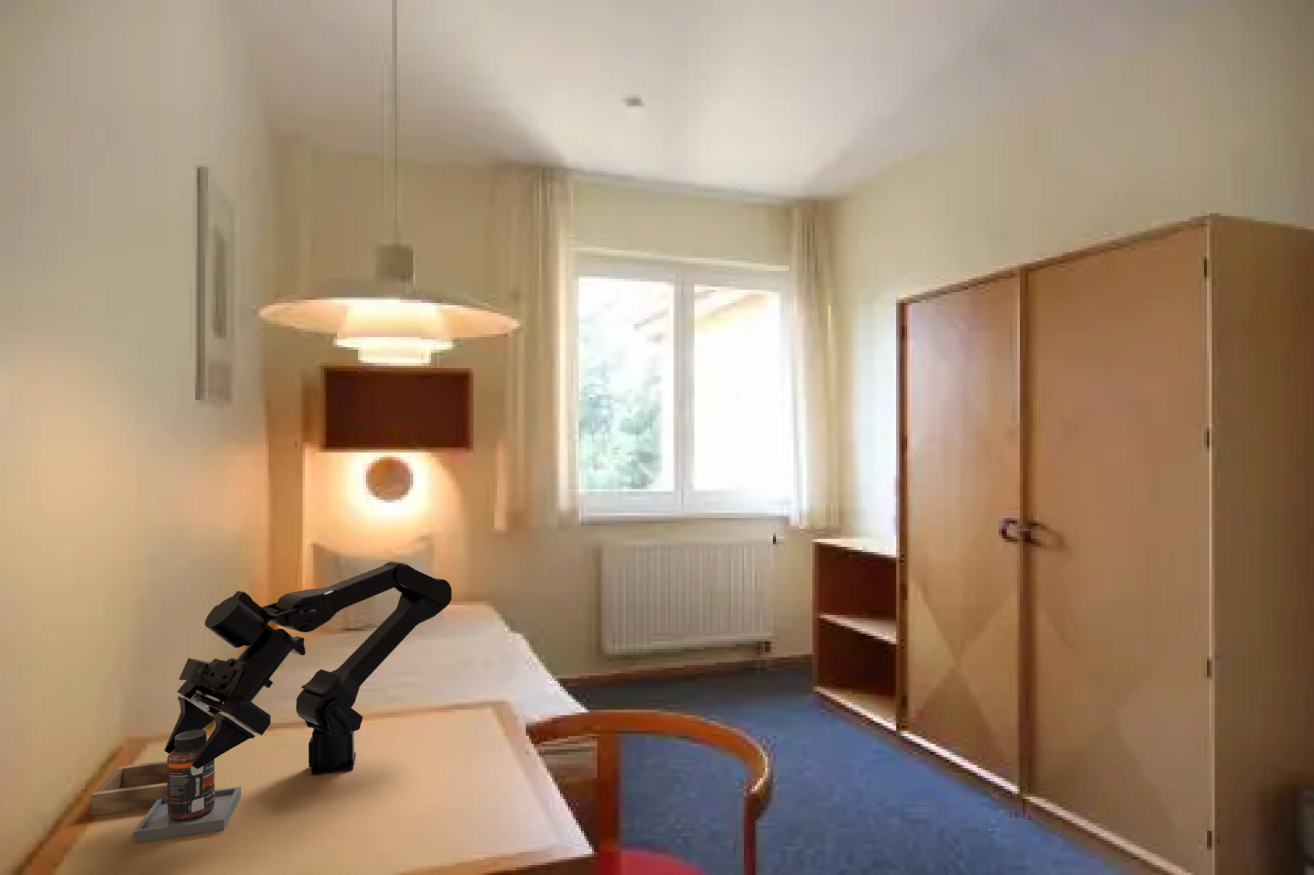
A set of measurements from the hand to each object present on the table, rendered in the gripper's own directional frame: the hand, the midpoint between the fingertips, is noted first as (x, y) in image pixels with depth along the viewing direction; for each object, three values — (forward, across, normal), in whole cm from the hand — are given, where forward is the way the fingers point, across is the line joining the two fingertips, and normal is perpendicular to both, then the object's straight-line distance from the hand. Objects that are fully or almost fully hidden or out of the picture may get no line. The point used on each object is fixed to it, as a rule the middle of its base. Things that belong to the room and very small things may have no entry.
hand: (180, 759), depth 111 cm
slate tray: (+5, 0, +7) cm, 9 cm away
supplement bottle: (+5, 0, +7) cm, 8 cm away
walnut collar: (+6, -14, +7) cm, 17 cm away
